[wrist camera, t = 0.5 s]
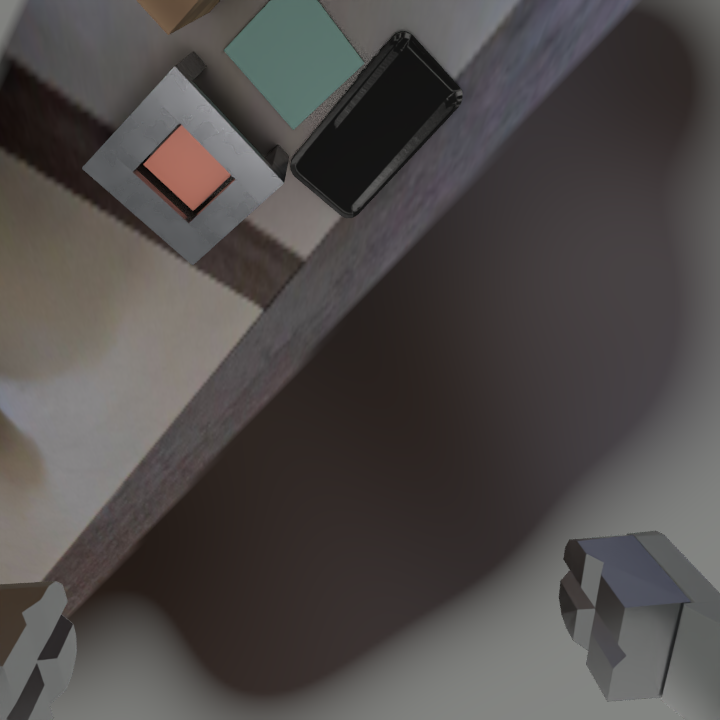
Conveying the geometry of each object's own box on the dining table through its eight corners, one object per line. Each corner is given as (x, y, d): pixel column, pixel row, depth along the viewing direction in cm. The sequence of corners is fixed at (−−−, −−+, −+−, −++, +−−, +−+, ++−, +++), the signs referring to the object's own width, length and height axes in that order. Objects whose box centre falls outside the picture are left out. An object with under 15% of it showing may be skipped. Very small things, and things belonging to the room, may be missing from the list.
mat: (296, -28, 43) (296, -28, 43) (364, 62, 47) (364, 63, 46) (224, 49, 46) (223, 50, 46) (293, 128, 50) (293, 129, 49)
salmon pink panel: (191, 113, 46) (185, 120, 44) (238, 163, 48) (235, 171, 47) (149, 156, 48) (143, 164, 46) (198, 201, 50) (193, 211, 49)
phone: (468, 96, 48) (349, 223, 54) (465, 93, 49) (349, 218, 55) (402, 24, 45) (284, 167, 51) (401, 22, 46) (284, 163, 52)
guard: (193, 51, 46) (174, 66, 40) (289, 156, 51) (283, 183, 45) (110, 143, 50) (81, 168, 44) (206, 232, 55) (192, 265, 49)
